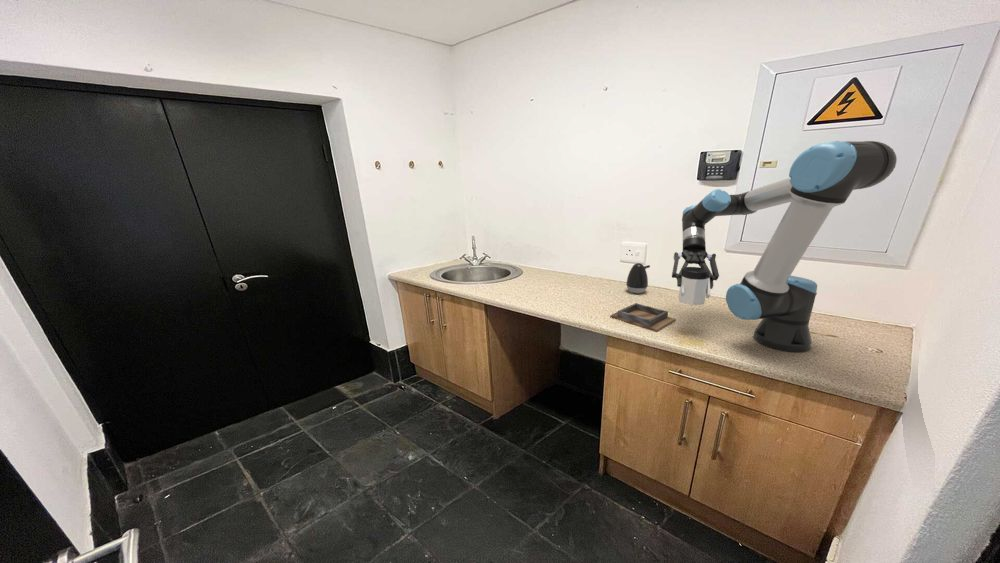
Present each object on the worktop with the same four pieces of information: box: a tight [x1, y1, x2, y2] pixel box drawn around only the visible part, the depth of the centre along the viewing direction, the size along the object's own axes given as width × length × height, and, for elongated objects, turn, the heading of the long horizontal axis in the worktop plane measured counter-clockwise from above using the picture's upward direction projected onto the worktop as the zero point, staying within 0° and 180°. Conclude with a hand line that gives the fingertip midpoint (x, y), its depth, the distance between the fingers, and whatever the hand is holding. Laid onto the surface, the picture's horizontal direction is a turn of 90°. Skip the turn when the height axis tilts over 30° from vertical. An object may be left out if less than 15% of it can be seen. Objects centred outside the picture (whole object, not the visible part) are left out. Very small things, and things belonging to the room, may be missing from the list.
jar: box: [678, 266, 709, 306], centre depth 119 cm, size 9×8×12 cm
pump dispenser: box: [625, 262, 651, 294], centre depth 168 cm, size 10×10×15 cm
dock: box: [610, 302, 676, 333], centre depth 137 cm, size 20×15×4 cm
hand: (695, 295), depth 117 cm, fingers closed on jar, 7 cm apart
